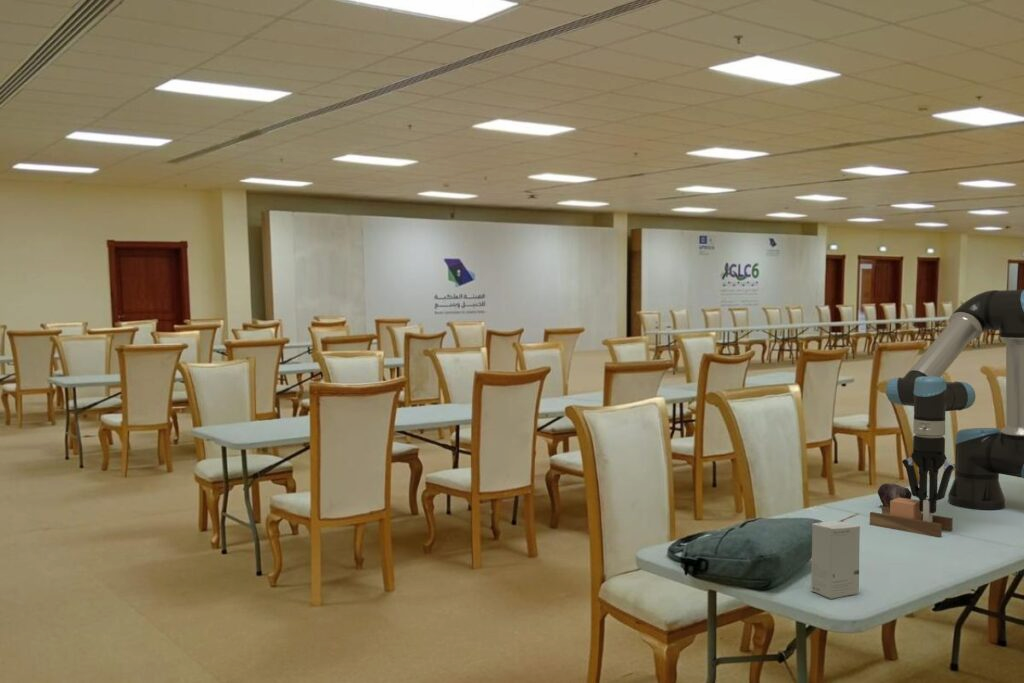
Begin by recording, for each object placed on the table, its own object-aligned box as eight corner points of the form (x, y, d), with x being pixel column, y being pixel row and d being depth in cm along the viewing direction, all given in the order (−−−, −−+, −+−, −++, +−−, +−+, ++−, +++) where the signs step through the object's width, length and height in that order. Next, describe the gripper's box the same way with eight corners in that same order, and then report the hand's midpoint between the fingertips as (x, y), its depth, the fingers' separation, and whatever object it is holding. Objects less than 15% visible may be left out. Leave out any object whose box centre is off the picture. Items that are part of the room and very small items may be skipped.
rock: (916, 515, 253) (879, 509, 259) (918, 486, 254) (882, 481, 260) (907, 517, 244) (870, 511, 250) (910, 487, 244) (872, 481, 250)
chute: (857, 516, 247) (857, 501, 246) (954, 534, 228) (954, 517, 228) (838, 524, 238) (838, 508, 238) (937, 543, 220) (937, 525, 219)
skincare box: (830, 600, 179) (831, 529, 178) (809, 591, 184) (810, 522, 184) (860, 594, 182) (861, 524, 181) (839, 585, 188) (840, 518, 187)
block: (898, 522, 235) (899, 497, 235) (921, 526, 231) (921, 500, 231) (889, 526, 231) (890, 501, 231) (912, 531, 227) (913, 504, 226)
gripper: (898, 434, 228) (896, 522, 229) (950, 440, 219) (948, 531, 220) (908, 431, 233) (907, 517, 234) (960, 436, 224) (958, 526, 225)
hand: (927, 524), depth 227 cm, fingers closed
